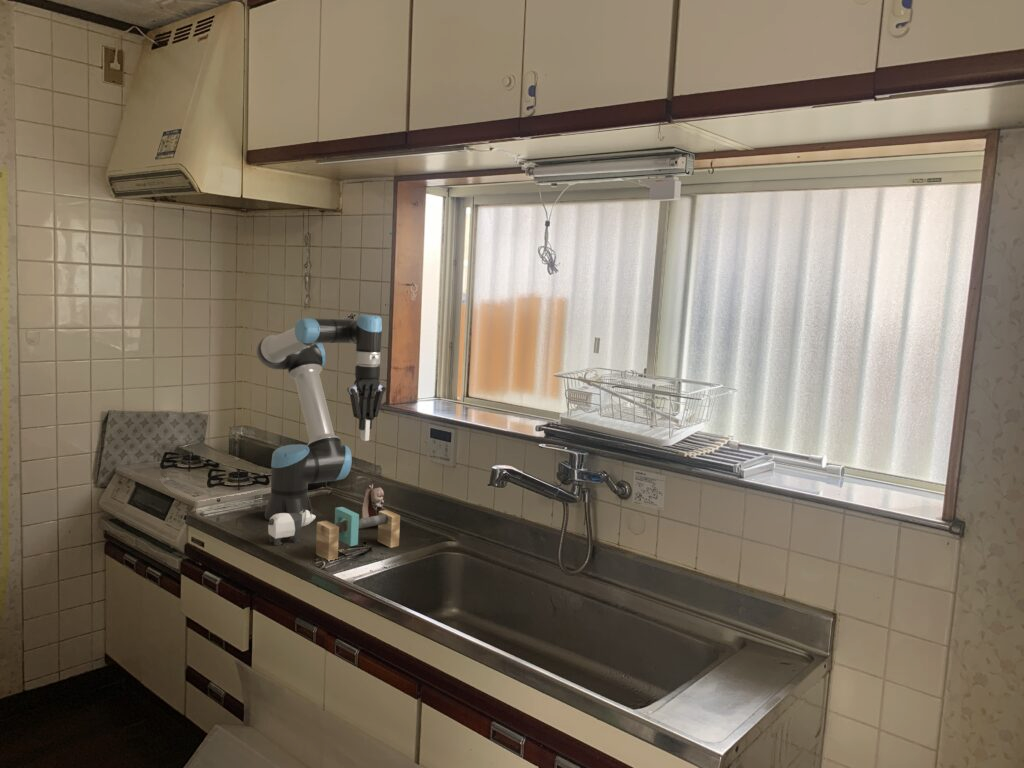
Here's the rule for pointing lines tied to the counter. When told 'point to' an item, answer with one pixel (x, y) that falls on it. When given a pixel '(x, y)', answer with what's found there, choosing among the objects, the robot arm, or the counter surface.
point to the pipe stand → (385, 521)
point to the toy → (367, 505)
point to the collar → (353, 525)
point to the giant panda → (288, 525)
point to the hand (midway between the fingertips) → (364, 439)
